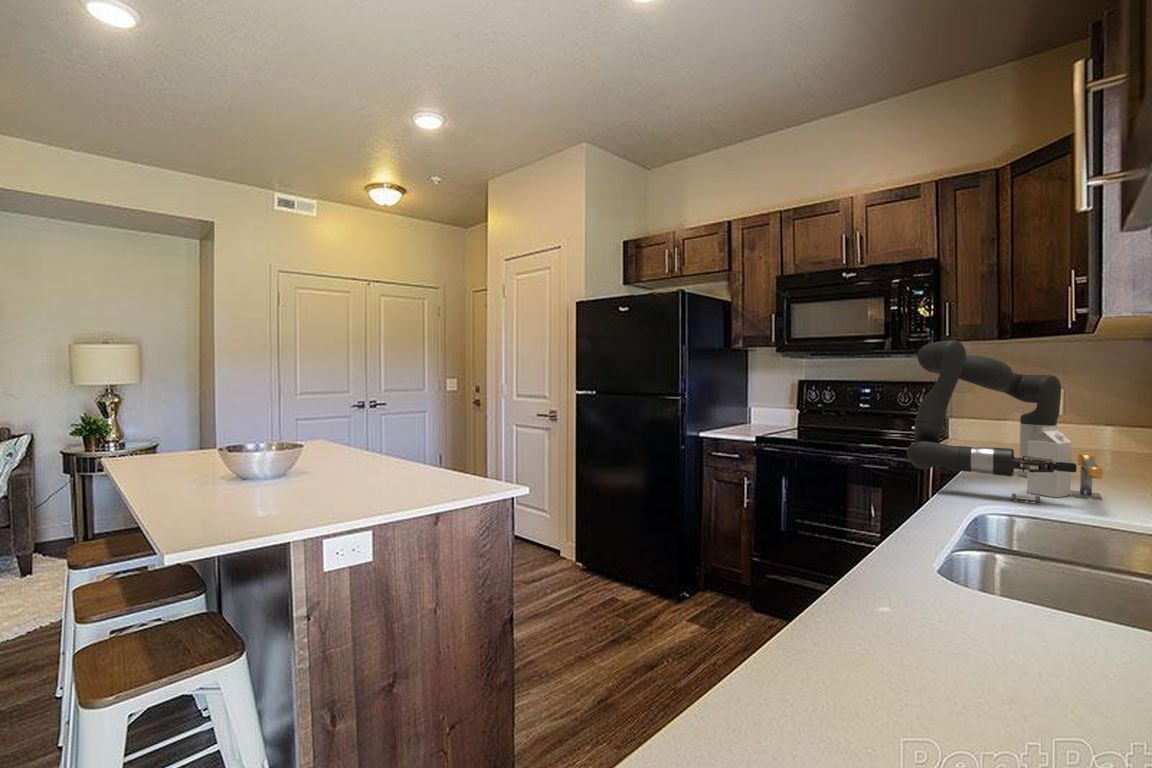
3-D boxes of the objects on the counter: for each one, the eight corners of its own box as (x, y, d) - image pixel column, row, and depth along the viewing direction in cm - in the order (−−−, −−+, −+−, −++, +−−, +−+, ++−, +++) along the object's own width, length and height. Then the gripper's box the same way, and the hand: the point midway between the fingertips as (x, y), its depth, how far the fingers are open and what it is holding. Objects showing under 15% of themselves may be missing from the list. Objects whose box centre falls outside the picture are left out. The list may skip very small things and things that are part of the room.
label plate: (1011, 495, 157) (1011, 492, 157) (1039, 498, 153) (1039, 495, 153) (1011, 500, 150) (1011, 498, 150) (1040, 504, 147) (1040, 501, 147)
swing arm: (1077, 463, 158) (1077, 453, 158) (1094, 465, 155) (1095, 455, 155) (1085, 478, 137) (1085, 466, 137) (1105, 479, 135) (1105, 468, 135)
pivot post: (1070, 493, 160) (1071, 464, 159) (1099, 496, 156) (1100, 466, 156) (1072, 496, 155) (1072, 467, 155) (1101, 499, 151) (1102, 469, 151)
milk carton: (1026, 493, 160) (1028, 426, 159) (1040, 490, 163) (1042, 425, 162) (1056, 498, 153) (1058, 428, 153) (1070, 495, 156) (1072, 427, 156)
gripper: (990, 450, 149) (1078, 456, 138) (993, 444, 160) (1074, 450, 149) (990, 478, 149) (1077, 486, 139) (992, 471, 160) (1074, 478, 149)
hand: (1076, 467), depth 144 cm, fingers closed
